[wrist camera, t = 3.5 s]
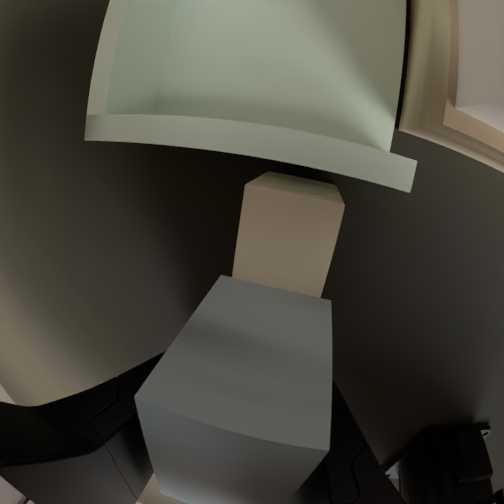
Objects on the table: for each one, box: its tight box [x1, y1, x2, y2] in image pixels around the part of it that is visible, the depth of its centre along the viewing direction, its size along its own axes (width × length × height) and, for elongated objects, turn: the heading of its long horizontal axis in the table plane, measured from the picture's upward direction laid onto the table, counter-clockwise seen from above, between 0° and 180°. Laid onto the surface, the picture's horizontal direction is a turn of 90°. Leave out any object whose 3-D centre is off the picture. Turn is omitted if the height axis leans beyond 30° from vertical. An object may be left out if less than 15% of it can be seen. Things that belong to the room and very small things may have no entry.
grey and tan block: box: [134, 171, 345, 504], centre depth 8 cm, size 10×3×8 cm, turn 171°
